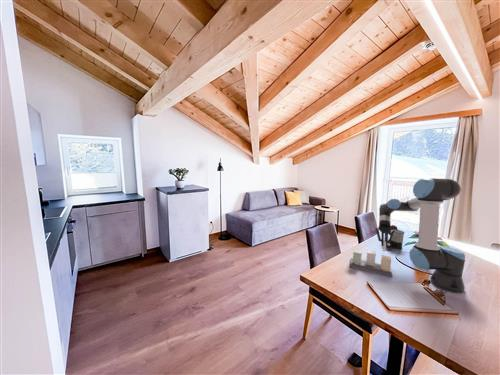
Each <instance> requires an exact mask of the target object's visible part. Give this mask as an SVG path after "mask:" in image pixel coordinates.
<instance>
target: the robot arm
mask: <svg viewBox="0 0 500 375" xmlns="http://www.w3.org/2000/svg"><path fill="white" fill-rule="evenodd" d="M461 190H462V187H461V185H460V184H459V182H458V181H456V180H455V179H450V178H435V177H434V178H433V177H429V178H428V177H427V178H426V177H425V178H420V179H418V180H417V181H416V182H415V183H414V184H413V187H412V192H413V196H414V198H411V199H409V200H399V199H398V198H395V197H394V198H390V199H389V200H388V201H387V202H386V203H382V204H380V205H379V208H378V211H379V212H378V213H379V214H378V216H379V219H378V222H379V223H378V227H375V228H374V231H375V233H376V235H377V236H376V237H377V240H378V242H380V243H381V245H380V246H381V247H382V251H383V252H386V251H387V248H386V247H387V246H388V245H389V244H390V242H391V239H392V236H393V234H394V233H395V231H393V230H391V217H392V216H391V214H393V212H403V211H404V212H417V211H418V210H419V223H418V225H419V226H418V240H417V241H418V242H416V243H415V244H414V247H413V248H411V249H410V250H409V258H410V261H411V263H412V264H413V266H415V267H416V268H418V269H420V270H426V271H427V270H434V271H433V272H432V274H431V275H430V278H429V280H430V281H429V282H430V283H431V284H432V285H434V286H435V287H436V288H439V289H441V290H444V291H446V292H451V293H455V294H457V293H458V294H462V293H464V292H465V288H466V287H465V283H464V280H463V274H464V267H465V262H466V254H465V252H463V251H461V250H458V249H456V248H453V247H450V246H445V245H439V246H438V237H439V234H438V233H439V220H440V206H441V204H443V203H444V201H449V200H451V199H454V198H456V197H458V196H459V195H460V193H461ZM390 231H391V235H389V234H388V233H389V232H390ZM380 233H381V235H380Z"/></svg>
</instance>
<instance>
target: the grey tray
mask: <svg viewBox="0 0 500 375" xmlns="http://www.w3.org/2000/svg"><path fill="white" fill-rule="evenodd" d="M380 266H381V263H377V262H375V266H370V265H366V260H364V259H361V265H360V264H356V263H353V257H351V258H350V262H349V268H352V269H356V270H361V271H364V272H369V273H373V274H379V275H383V276H386V277H390V278H391V277H392V278H393V275H394V274H393V270H392V267H391V266H390V271H388V270H382V269H380Z"/></svg>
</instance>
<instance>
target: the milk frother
mask: <svg viewBox="0 0 500 375" xmlns="http://www.w3.org/2000/svg"><path fill="white" fill-rule="evenodd" d="M393 231H395V233H394V234H393V236H392V239H391V242H390V243H389V244H388V246H387V247H386V250H391V251H393V250H403V241H404V236H405V232H404V231H403V230H399V229H398V230H393ZM389 233H391V231H390V232H389Z"/></svg>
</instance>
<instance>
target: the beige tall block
mask: <svg viewBox="0 0 500 375" xmlns="http://www.w3.org/2000/svg"><path fill="white" fill-rule="evenodd" d="M380 264H381V266H380V269H382V270H388V271H390V266H391V264H392V258H391V256H387V255H381V259H380Z"/></svg>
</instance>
